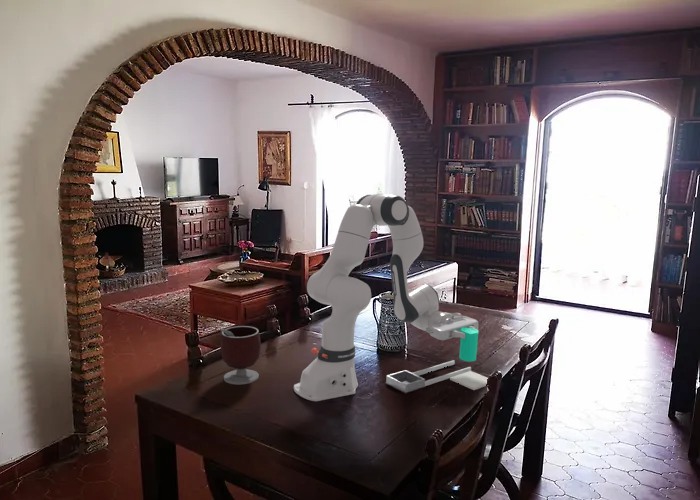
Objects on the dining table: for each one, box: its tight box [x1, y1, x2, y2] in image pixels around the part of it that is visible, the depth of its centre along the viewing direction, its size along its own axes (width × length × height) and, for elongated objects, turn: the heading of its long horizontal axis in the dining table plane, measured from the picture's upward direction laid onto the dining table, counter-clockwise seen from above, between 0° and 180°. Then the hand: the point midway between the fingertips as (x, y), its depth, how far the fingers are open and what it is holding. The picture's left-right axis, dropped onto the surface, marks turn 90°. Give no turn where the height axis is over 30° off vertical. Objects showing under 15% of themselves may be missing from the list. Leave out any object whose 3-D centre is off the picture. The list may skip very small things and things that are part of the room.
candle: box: [458, 328, 479, 362], centre depth 193 cm, size 6×6×12 cm
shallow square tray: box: [385, 369, 426, 394], centre depth 189 cm, size 9×10×3 cm
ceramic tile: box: [449, 370, 489, 391], centre depth 194 cm, size 11×11×1 cm
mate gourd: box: [219, 325, 262, 386], centre depth 192 cm, size 16×14×20 cm
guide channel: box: [412, 359, 472, 387], centre depth 199 cm, size 24×9×2 cm, turn 127°
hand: (471, 334), depth 192 cm, fingers closed on candle, 5 cm apart
